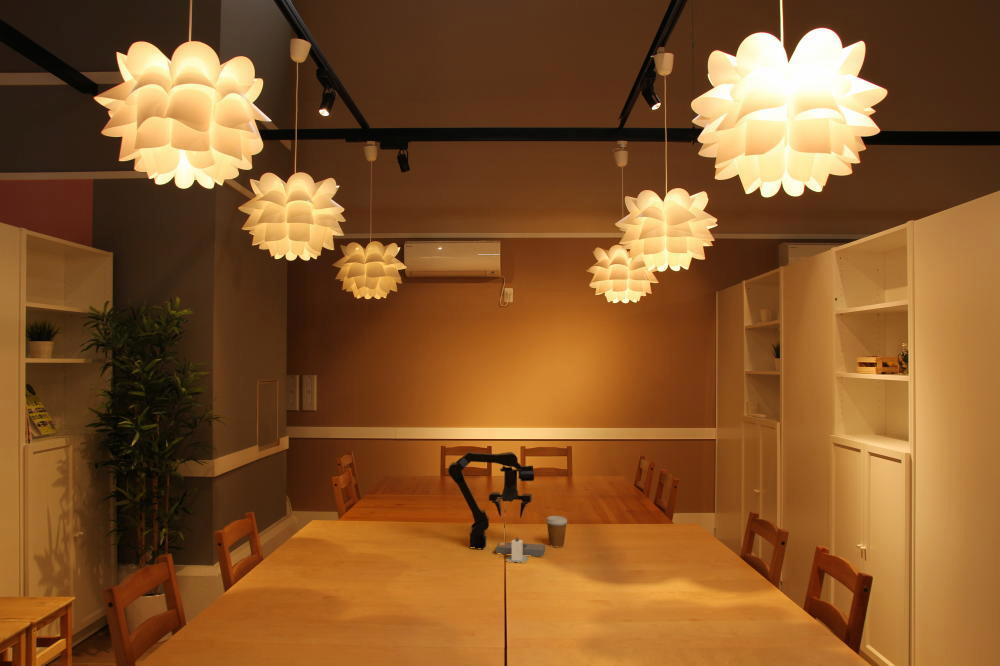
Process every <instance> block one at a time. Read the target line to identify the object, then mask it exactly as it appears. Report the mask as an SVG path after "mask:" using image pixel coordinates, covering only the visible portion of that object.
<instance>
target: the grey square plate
mask: <svg viewBox="0 0 1000 666" xmlns="http://www.w3.org/2000/svg"><path fill="white" fill-rule="evenodd" d="M527 558H528V559H529V556H523V558H522V560H512V555H507V558H506V559H505V562H506V561H511V562H526V563H527V561H528V559H527ZM526 560H527V561H526Z"/></svg>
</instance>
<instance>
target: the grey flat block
mask: <svg viewBox="0 0 1000 666" xmlns="http://www.w3.org/2000/svg"><path fill="white" fill-rule="evenodd" d="M544 552H545V553H546V544H540V543H539V544H538V543H524V542H523V555H531V556H543V555H544V556H545V553H544ZM496 553H501V554H512V542H505V541H499V542H498V543H497V545H496V547H495V554H496ZM544 556H543V557H544Z"/></svg>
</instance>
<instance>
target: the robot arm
mask: <svg viewBox="0 0 1000 666" xmlns="http://www.w3.org/2000/svg"><path fill="white" fill-rule="evenodd" d="M471 462H473V463H475V462H476V463H489V464H498V465H501V468H500V469H499V471H500V472H501V473H502V472H503V473H504V474H503V475H504V476H503V477H504V479H503V481H504V483H503V490H502V493H501V492H499V491H498V492H496V491H492V492H491V493H490V494H489V495H488V501H489V502H490V501H491V503H492V504H494V505H495V507H496V508H497V512H498V515H499V517H502V502H509V503H511V502H513V501H514V500H516V501H517V500H519V501H521V502H520V512H519V518H522V517H523V513H524V510H525V508H526V506H527V505H528V504H530V503H531V502H532V501H533V495H532V494H531V493H523V494H520V495H519V490H518V480H520V482H534V480H535V473H534V466H533V465H521V463H519V462H518V457H517V455H516V454H515V453H514V452H512V451H508V452H507V451H506V452H501V453H485V452H484V453H483V452H473V451H468V452H466V453H465V454H464V455H463V456H461V457H460V458H459V459H458V460H457V461H453V462H451V463H450V464H449V466H448V470H447V472H448V475H449V476H450V477H451V479H452V481H454V483H455V484H456V485H457V486H458V488H459V490H460V492H461V494H462V496H463V498H464V499H465V501H466V504H467V506H468V508H469V510H470V511H471V514H472V517H473V521H474V522H473V523H471V525H470V533H469V547H475V548H484V547H485V548H486V546H487V536H486V532H485V531H487V530H488V529H489V527H490V522H489V521H490V517H489V515H487V512H486V510H485V508H484V509H481V508H480V507H479V504H478V502H477V501H476V499H475V496H474V494H473V492H472V491H471V488H470V487H469V485H468V483H467V481H466V478H465V476H464V472H463V470H464V469H465V468H466V467H467V466H468V465H469V464H470V463H471ZM513 468H514V469H513ZM501 501H502V502H501ZM485 548H484V549H485Z"/></svg>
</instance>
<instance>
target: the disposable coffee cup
mask: <svg viewBox="0 0 1000 666" xmlns="http://www.w3.org/2000/svg"><path fill="white" fill-rule="evenodd" d="M545 522H546V524H547V525H546V526H547V532H548V533H547V535H548V541H549V543H548V544H549V546H550V545H552V546H563V545H564V546H565V538H566V530H567V523H568V520H567V518H566V517H565V516H562V515H551V516H548V517H547V518H546V520H545ZM552 546H551V547H552ZM564 546H563V547H564Z"/></svg>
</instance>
